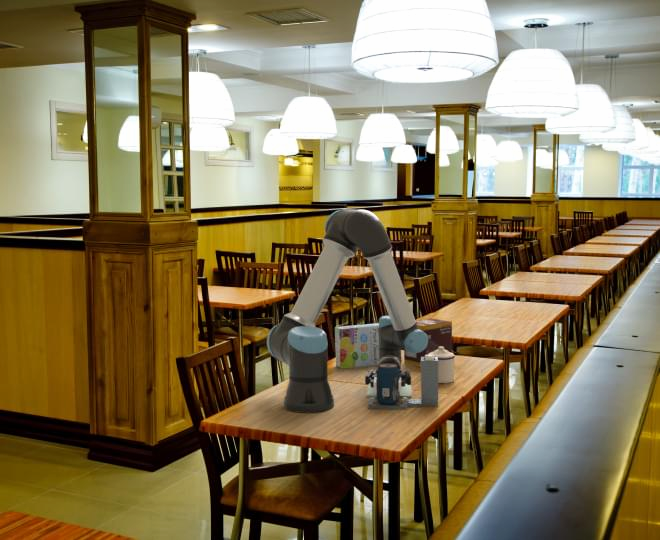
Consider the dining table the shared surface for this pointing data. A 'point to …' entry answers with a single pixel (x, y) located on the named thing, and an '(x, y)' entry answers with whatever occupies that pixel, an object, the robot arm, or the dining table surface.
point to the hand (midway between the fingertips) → (387, 386)
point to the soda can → (388, 384)
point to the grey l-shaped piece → (427, 388)
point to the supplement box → (431, 339)
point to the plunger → (429, 357)
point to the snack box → (357, 345)
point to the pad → (404, 392)
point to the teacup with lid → (444, 365)
